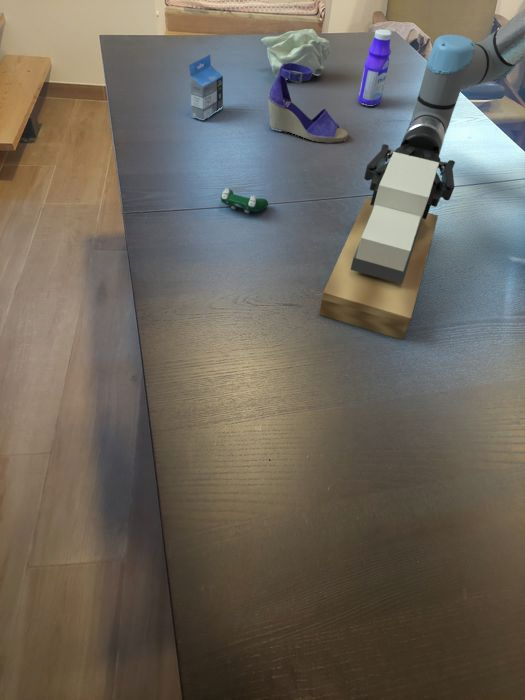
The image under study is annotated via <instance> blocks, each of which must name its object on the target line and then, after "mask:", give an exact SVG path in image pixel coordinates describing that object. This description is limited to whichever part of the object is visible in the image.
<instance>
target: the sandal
mask: <svg viewBox="0 0 525 700" xmlns="http://www.w3.org/2000/svg"><path fill="white" fill-rule="evenodd" d="M294 73H295V74H294ZM302 73H303V74H302ZM285 78H287V79H289V80H288V81H290V82H291V83H297V84H301V83H302V82H306V81H309V80H311V79H312V69H310V68H309V67H306V66H304V65H300V64H295V63H286V64H285V63H284V64H282V65H281V68H280V72H279V75H278V77H277V78H276V79H275V81H274V83H273V84H272V86H271V87H270V91H269V96H268V111H269V126H271V127H272V128H274V129H277V130H281V131H286V132H285V133H287V132H290V133H292V134H291V135H293V134H295V135H294V136H296V135H298V136H297V137H299V136H301V137H303V138H302V139H304V138H306V139H309V140H312V141H311V142H313V141H317V142H316V143H318V142H333V143H332V144H335V143H334V142H340V143H342V142H341V141H344V140H346V141H347V139H348V137H349V136H348V135H349V133H348V131H347V130H346V129H344V128H341V127H340V125H339V124H338V123H337V122H336V121H335V120H334V119H333V117H332V116H331V115H330V114H329V112H328V110H327V109H326V108H323V109H321V110H320V111H319V112H318V113H317V114H316V115H315V116H314V117H313V118H312V119H311V118H310V117H309V116H308V115H307V114H306V113H305V112H304V111H303V110H302V109H301V108H300V107H299V106H297V104H296V103H294V102H293V101H292V99H291V95H290V91H289V87H288V81H286V79H285ZM290 133H289V134H290ZM301 137H300V138H301ZM306 139H305V140H306ZM309 140H308V141H309ZM344 142H345V141H344Z"/></svg>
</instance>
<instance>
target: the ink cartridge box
mask: <svg viewBox="0 0 525 700" xmlns="http://www.w3.org/2000/svg"><path fill="white" fill-rule="evenodd" d="M211 63H212V62H211V54H208V55H206V56H204V57H202V58H200V59H198V60H196V61H194V62H193V63H190V64H189V65H188V66H189V74H190V75H189V76H190V100H191V101H190V106H191V107H190V108H191V117H192V116H195V117H198V118H201V119H205V118H207V117H208V116H210V115H211V114H213V113H214V112H215V111H217V110H218V109H219V108H221V107H222V106H223V107H224V77H223V75H222V74H221V73H220V72H219V71H217V69H216V68H214V67H213V66H212V64H211ZM200 65H203V66H200ZM199 66H200V67H199ZM198 67H199V68H198Z"/></svg>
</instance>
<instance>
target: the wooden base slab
mask: <svg viewBox="0 0 525 700" xmlns="http://www.w3.org/2000/svg"><path fill="white" fill-rule="evenodd" d="M371 200H372V197H368V196H367V197H365V199H364V201H363V204H362V206H361V208H360V210H359V213H358V215H357V216H356V219H355V221H354V223H353V226H352V228H351V230H350V232H349V234H348V237H347V239H346V240H345V243H344V244H343V245H344V246H343V248H342V250H341V252H340V254H339V256H338V259H337V261H336V263H335V265H334V267H333V270H332V272H331V274H330V276H329V278H328V280H327V283H326V285H325V287H324V290H323V292H322V297H321V301H320V306H319V311H318V315H319V316H322V317H324V318H329V319H332V320H335V321H338V322H342V323H345V324H349V325H351V326H355V327H357V328H361V329H365V330H368V331H371V332H375V333H378V334H381V335H384V336H387V337H391V338H395V339H397V340H401V341H403V340H404V337H405V335H406V332H407V330H408V327H409V326H410V323H411V320H412V316H413V313H414V309H415V306H416V301H417V299H418V295H419V294H418V293H419V290H420V287H421V283H422V278H423V274H424V271H425V267H426V263H427V260H428V256H429V252H430V248H431V245H432V241H433V236H434V234H435V229H436V225H437V221H438V217H439V215H438V214H435V213H431V212H428V215H427V217H426V219H423V218H422V221H421V224H420V228H419V231H418V234H417V238H416V241H415V244H414V248H413V251H412V254H411V258H410V261H409V264H408V268H407V271H406V274H405V277H404V280H403V282H402V284H399V283H395V282H392V281H388V280H385V279H381V278H378V277H374V276H371V275H367V274H364V273H360V272H357V271H353V270H351V265H352V261H353V257H354V255H355V253H356V250H357V248H358V245H359V243H360V241H361V237H362V235H363V233H364V230H365V228H366V225H367V223H368V221H369V218H370V216H371V214H372V211H373V207H374V206H373V205H370V204H371Z"/></svg>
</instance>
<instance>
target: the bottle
mask: <svg viewBox="0 0 525 700" xmlns="http://www.w3.org/2000/svg"><path fill="white" fill-rule="evenodd" d="M392 34H393V33H392V31H390V30H388V29H385V28H384V29H383V28H382V29H381V28H379V29H376V30H375V32H374V37H373V41H372V43H371V45H370V47H369V48H368V55H367V57H366V59H365V62H364V67H363V72H362V77H361V82H360V88H359V93H358V99H357V100H358V103H359V102H361V103H364V104H367V105H375V104H377V105H379V104H380V102H381V101H382V98H383V93H384V90H385V89H384V88H385V85H386V79H387V75H388V71H389V66H390V55H391V54H392V51H391V39H392ZM378 103H379V104H378Z"/></svg>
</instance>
